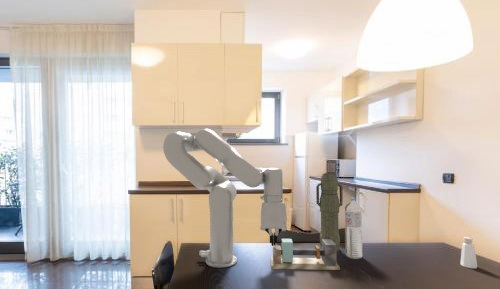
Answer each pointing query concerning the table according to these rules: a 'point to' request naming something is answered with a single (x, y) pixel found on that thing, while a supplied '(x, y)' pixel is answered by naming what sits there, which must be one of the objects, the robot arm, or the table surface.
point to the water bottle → (353, 230)
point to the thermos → (329, 208)
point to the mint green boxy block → (287, 250)
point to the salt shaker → (468, 254)
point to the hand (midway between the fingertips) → (273, 244)
